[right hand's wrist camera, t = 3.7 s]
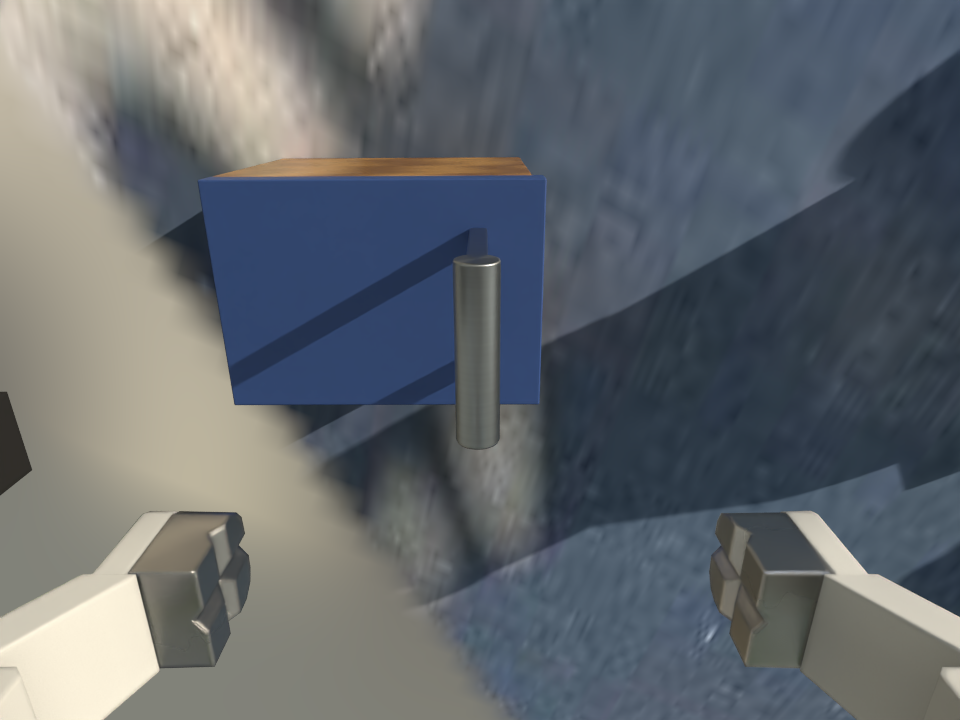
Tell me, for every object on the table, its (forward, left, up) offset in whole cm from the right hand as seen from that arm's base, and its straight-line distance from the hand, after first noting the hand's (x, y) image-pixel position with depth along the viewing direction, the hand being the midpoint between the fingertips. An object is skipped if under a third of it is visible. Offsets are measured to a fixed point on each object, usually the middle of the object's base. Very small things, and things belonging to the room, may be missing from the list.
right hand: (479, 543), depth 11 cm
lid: (+2, +4, -17) cm, 18 cm away
